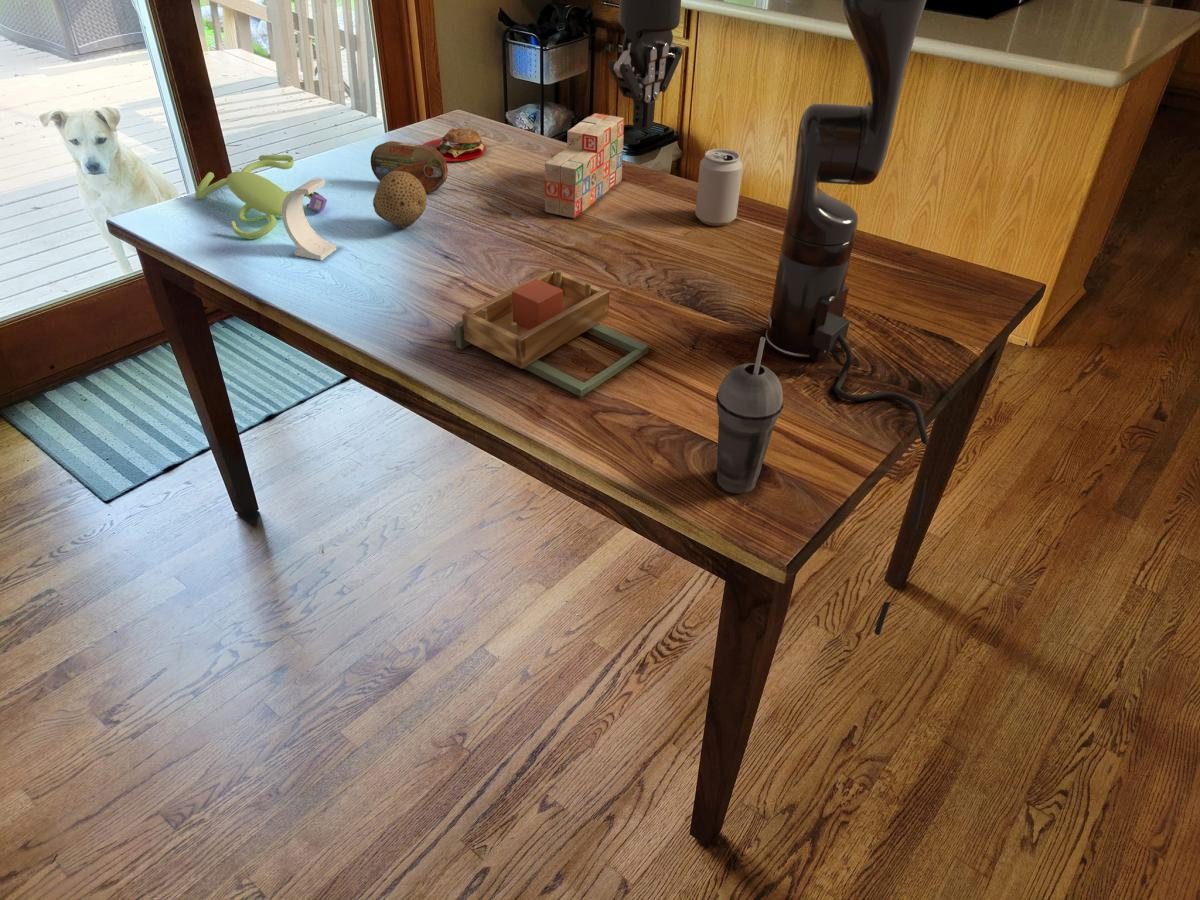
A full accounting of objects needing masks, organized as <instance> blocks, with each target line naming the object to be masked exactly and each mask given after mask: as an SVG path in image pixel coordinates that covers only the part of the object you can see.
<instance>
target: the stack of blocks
mask: <svg viewBox="0 0 1200 900" xmlns="http://www.w3.org/2000/svg"><path fill="white" fill-rule="evenodd" d="M624 130H625V118H624V117H621V116H615V115H609V114H604V113H596V112H595V113H593V114H591V115H590V116H587V117H585V118H584V119H583V120H581V121H579V122H578V123H577V124H575V125H574V126H573V127H571V128H570V129H568V130H567V141H566V142H567V143H566V148H564V149H563V150H562V151H560V152H558V153H557V154H556V155H554V156H553V157H551V158H550V159H549V160H547V161H546V162H545V163H544V212H546V213H550V214H552V215H553V214H554V215H559V216H561V217H562V216H563V217H567V218H573V219H575V218H576V217H577V216H579V215H580V214H581V213H584V211H585V210H587V209H588V208H589V207H590V206H592V205H593V204H594V203H595V202H597V200H598V199H600V198H601V197H602V196H603V195H605V194H606V193H607V192H609V191H610V190H611V189H612V188H615V186H616V185H618V184H619V183H620V182H621V181H622V180H623V155H624V154H623V153H624V137H625V136H624V135H625V134H624V132H625V131H624Z"/></svg>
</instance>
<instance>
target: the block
mask: <svg viewBox="0 0 1200 900" xmlns="http://www.w3.org/2000/svg"><path fill="white" fill-rule="evenodd" d="M512 307H513V322H516V323H517V325H519V326H522V327H524V328H526V329H528V330H531V329H533V328H534V327H536V326H538V325H540V324H542V323H543V322H545V321H547V320H549V319H551V318H552V317H554V316H556V315H558V314H560V313H561V312H563V290H562V289H559V288H557V287H555V286H552V285H550V284H548V283H545V282H543V281H541V280H538V279H534V280H533V281H531V282H529V283H527V284H525V285H523V286H521V287H519V288H517V289H515V290H513V291H512Z"/></svg>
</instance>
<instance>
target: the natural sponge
mask: <svg viewBox="0 0 1200 900" xmlns="http://www.w3.org/2000/svg"><path fill="white" fill-rule="evenodd" d="M372 207H373V209H374V212H375V214H376V215H377V216H378V217H379V218H380V219H382V220H384V221H386V222H388V223H389V224H391V225H392V226H395V227H396V228H399V229H407V228H409V227H411V226H412V225H414V224H415V223H416V221H417V220H418V219H420V217H421V216H422V215H423V214H424V212H425V210H426V207H427V193H426V192H425V189H424V187H423V186H422V184H421V182H420V181H419V180H418V179H417V178H416V177H415V176H413V175H412V174H410V173H408V172H403V171H393V172H390V173H388V174H387V175H386V176H384V177H383V179H382V180H381V181H379V183H378V185H377V188H376V190H375V193H374V197H373V198H372Z"/></svg>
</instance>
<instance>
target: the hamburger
mask: <svg viewBox="0 0 1200 900" xmlns="http://www.w3.org/2000/svg"><path fill="white" fill-rule="evenodd" d="M422 145H428V146H431V147H434V148H435V149H437V150H438V151H439V152H440V153H441V154H442V155H443V157H444V158H445V160H446V162H461V161H467V160H468V161H469V160H473V159H477V158H478V157H481V156H482V155H484V154H485V153H486V152H487V146H486V145H485V144H484V142H482V137H481V136H480V134H479V133H478V131H476V130H473V129H471V128H466V127H465V128H464V127H463V128H462V127H461V128H454V127H453V128H451V129H449V130H448V131H447V132H446V133H445V134H444V136H442V137H440V138H437V139H432V140H429V141H426V142H425V143H424V142H423V144H422Z"/></svg>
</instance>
